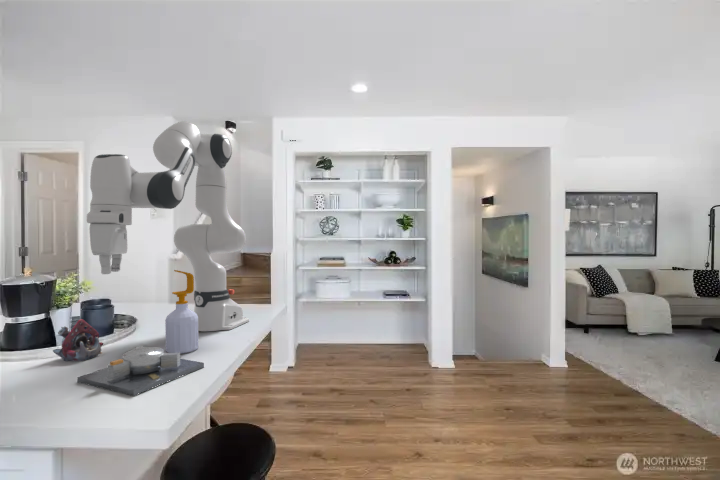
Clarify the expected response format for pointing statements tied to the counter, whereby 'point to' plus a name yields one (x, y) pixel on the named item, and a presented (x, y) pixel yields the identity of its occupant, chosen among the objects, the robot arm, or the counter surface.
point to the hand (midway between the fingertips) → (111, 272)
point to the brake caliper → (79, 343)
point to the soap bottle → (182, 323)
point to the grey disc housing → (142, 362)
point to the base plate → (138, 378)
